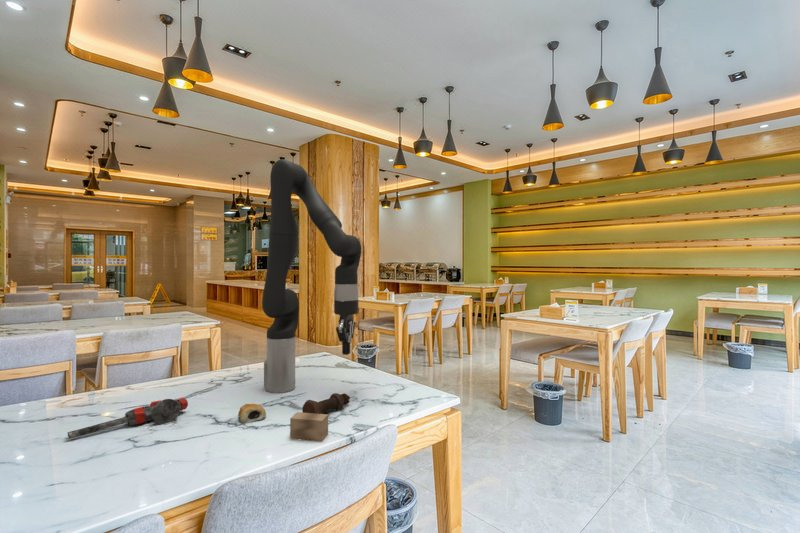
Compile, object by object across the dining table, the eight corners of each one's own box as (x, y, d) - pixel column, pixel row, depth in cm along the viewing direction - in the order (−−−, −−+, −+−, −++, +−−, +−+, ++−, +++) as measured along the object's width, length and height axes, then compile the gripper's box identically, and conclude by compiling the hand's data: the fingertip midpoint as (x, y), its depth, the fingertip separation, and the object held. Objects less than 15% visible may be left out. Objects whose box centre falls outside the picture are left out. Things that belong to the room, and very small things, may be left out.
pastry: (234, 413, 110) (235, 400, 110) (260, 409, 114) (260, 396, 114) (241, 425, 102) (241, 410, 102) (268, 420, 106) (268, 406, 106)
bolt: (348, 411, 117) (310, 426, 105) (337, 400, 120) (299, 413, 107) (356, 396, 116) (318, 409, 103) (345, 384, 118) (307, 396, 106)
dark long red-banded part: (178, 410, 118) (195, 416, 107) (64, 441, 99) (71, 452, 89) (176, 388, 118) (193, 392, 108) (62, 416, 100) (69, 424, 89)
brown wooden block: (290, 439, 94) (290, 418, 94) (297, 432, 98) (297, 412, 98) (322, 442, 93) (322, 420, 93) (328, 434, 97) (328, 414, 97)
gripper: (341, 296, 131) (341, 349, 130) (327, 300, 117) (327, 358, 117) (363, 297, 129) (363, 350, 129) (351, 300, 116) (351, 359, 116)
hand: (346, 354), depth 123 cm, fingers closed
